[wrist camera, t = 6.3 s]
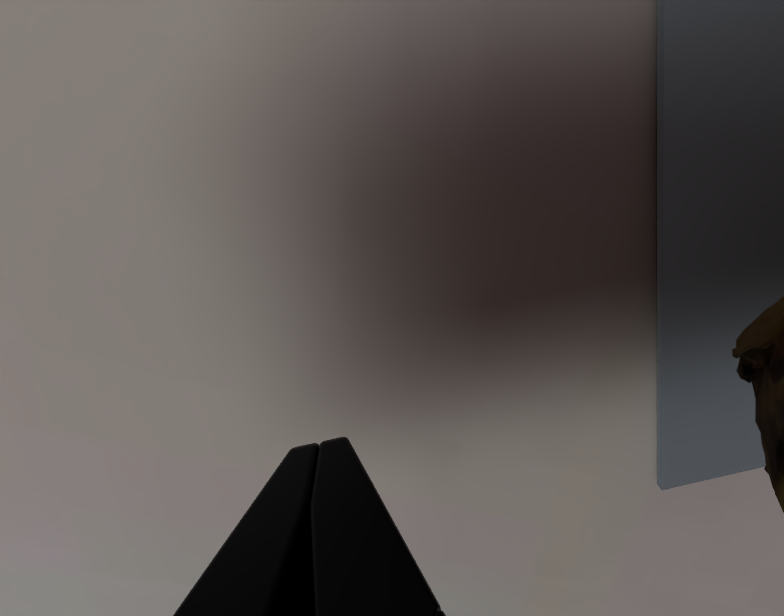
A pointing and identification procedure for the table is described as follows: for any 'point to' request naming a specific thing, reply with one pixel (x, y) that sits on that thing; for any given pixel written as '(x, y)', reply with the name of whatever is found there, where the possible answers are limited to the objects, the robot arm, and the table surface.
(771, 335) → the potato
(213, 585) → the robot arm
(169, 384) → the table surface
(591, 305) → the table surface
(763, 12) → the mat
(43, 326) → the table surface
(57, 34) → the table surface
